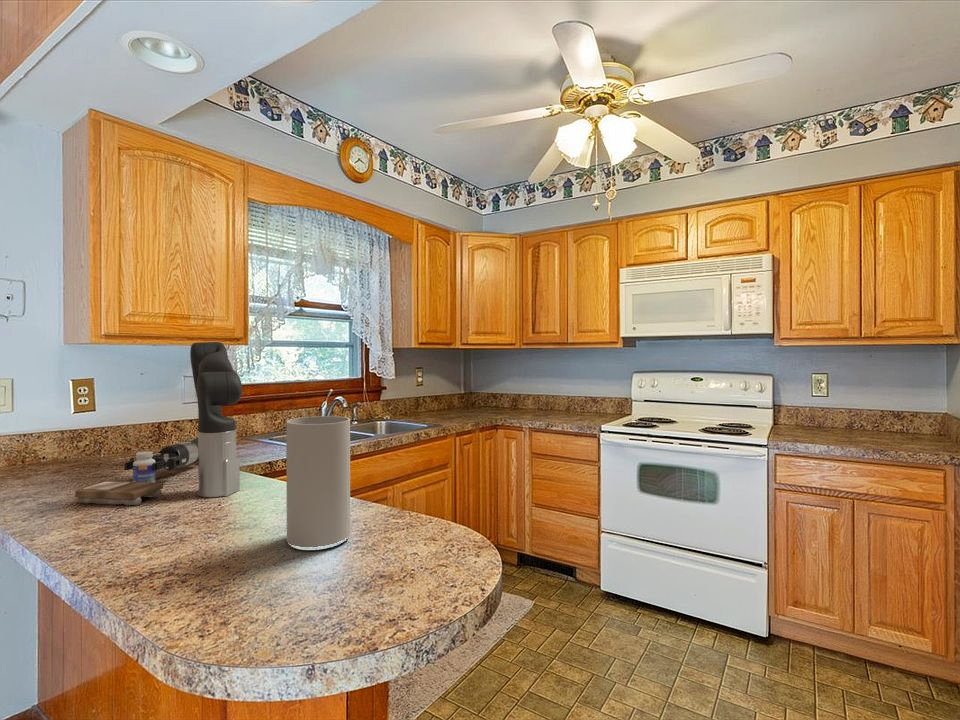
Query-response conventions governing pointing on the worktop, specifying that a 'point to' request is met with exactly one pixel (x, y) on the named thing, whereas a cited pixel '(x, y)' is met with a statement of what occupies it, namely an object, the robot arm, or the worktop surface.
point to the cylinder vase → (318, 480)
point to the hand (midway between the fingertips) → (139, 466)
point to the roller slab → (119, 492)
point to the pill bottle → (143, 467)
